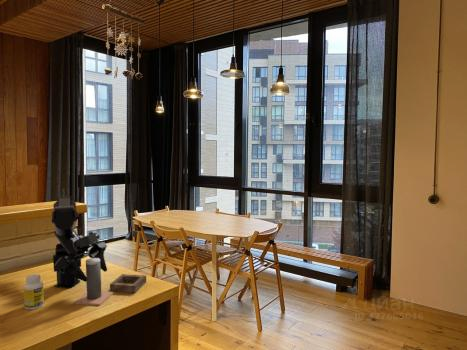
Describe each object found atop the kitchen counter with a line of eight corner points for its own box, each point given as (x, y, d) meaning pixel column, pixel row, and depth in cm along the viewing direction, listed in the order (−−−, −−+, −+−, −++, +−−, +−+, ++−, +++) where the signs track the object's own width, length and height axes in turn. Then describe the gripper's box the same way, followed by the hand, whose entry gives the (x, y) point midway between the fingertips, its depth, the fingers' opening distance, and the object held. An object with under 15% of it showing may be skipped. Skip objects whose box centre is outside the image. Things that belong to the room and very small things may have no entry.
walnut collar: (110, 291, 122) (109, 284, 122) (122, 280, 132) (122, 274, 131) (135, 292, 121) (135, 286, 121) (146, 282, 130) (146, 275, 130)
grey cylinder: (84, 299, 115) (82, 262, 113) (91, 293, 119) (90, 257, 118) (96, 300, 114) (95, 262, 113) (103, 294, 118) (102, 258, 117)
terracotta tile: (74, 303, 113) (74, 301, 113) (89, 291, 121) (89, 290, 121) (99, 305, 111) (99, 303, 111) (113, 293, 120) (113, 291, 120)
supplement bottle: (35, 310, 108) (33, 280, 107) (20, 309, 109) (18, 278, 108) (48, 303, 113) (46, 273, 112) (33, 301, 114) (32, 272, 113)
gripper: (59, 231, 107) (89, 271, 104) (102, 219, 124) (128, 252, 121) (41, 253, 110) (69, 292, 107) (85, 238, 128) (110, 271, 125)
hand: (96, 275), depth 115 cm, fingers open, 9 cm apart
